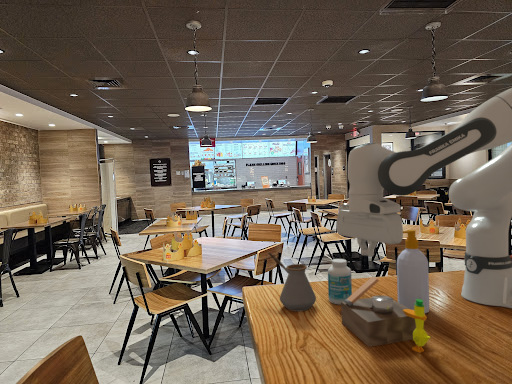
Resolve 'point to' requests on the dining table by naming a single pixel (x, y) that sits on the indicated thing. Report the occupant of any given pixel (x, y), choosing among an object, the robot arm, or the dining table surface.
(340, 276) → the pill bottle
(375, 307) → the steel pin
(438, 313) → the dining table surface
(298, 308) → the coffee pot
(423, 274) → the soap bottle
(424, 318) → the toy figure
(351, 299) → the bar
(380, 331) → the brown square block
